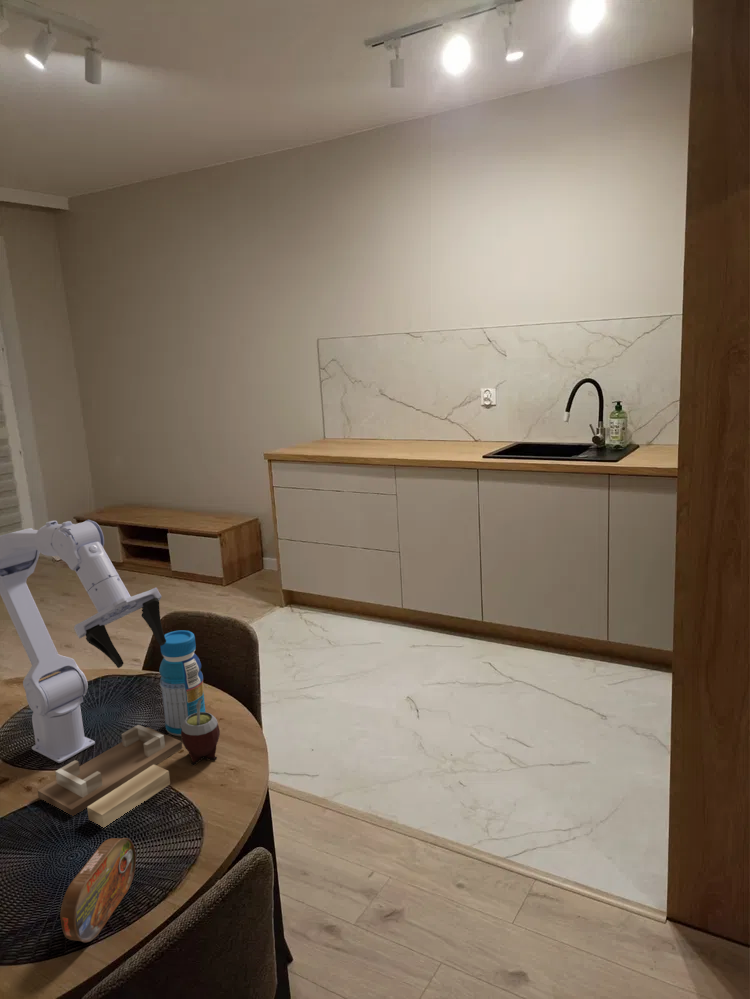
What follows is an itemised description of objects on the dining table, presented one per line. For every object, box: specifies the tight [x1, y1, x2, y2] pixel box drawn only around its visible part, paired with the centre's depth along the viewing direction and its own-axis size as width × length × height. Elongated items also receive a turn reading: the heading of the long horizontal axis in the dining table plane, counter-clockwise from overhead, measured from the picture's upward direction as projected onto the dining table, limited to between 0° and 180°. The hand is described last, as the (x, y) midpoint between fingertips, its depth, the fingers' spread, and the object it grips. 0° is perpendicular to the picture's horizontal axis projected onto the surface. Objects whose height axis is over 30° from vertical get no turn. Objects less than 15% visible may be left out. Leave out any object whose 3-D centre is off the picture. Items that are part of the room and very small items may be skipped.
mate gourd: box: [180, 698, 221, 766], centre depth 137 cm, size 8×8×15 cm
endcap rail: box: [37, 724, 183, 817], centre depth 135 cm, size 10×24×4 cm, turn 146°
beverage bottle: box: [159, 629, 206, 737], centre depth 147 cm, size 8×8×20 cm
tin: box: [59, 837, 137, 943], centre depth 102 cm, size 15×3×8 cm, turn 168°
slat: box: [86, 765, 171, 829], centre depth 126 cm, size 4×14×3 cm, turn 147°
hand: (142, 654), depth 120 cm, fingers open, 7 cm apart
